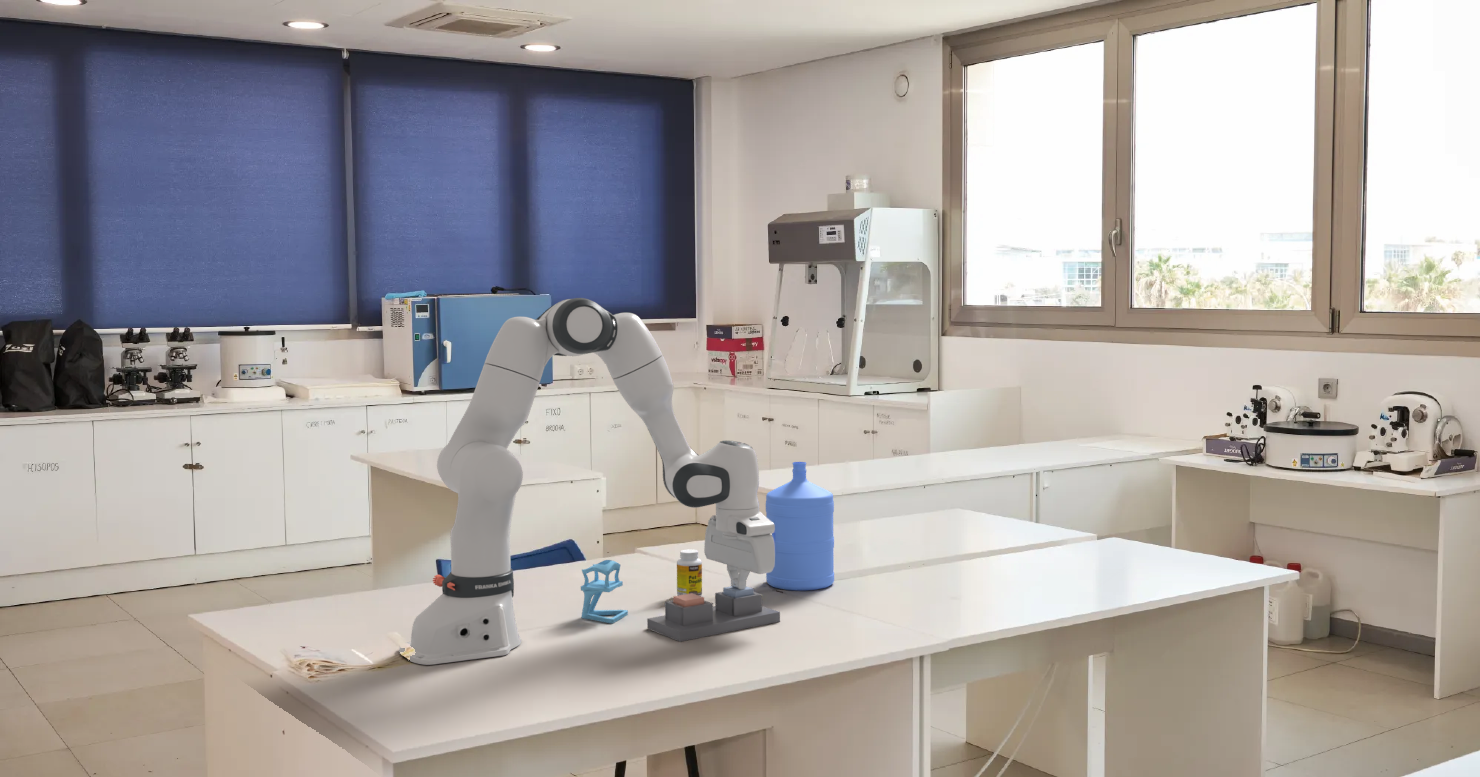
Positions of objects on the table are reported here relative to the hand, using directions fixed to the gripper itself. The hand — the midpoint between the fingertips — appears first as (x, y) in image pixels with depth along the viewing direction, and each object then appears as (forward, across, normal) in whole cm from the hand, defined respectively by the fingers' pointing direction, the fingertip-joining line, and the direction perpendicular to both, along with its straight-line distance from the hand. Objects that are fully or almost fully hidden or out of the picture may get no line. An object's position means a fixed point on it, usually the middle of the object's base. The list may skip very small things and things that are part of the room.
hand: (738, 587), depth 247 cm
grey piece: (+7, 0, -6) cm, 9 cm away
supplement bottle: (+7, -23, +3) cm, 24 cm away
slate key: (+3, 0, 0) cm, 3 cm away
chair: (+7, -19, -21) cm, 29 cm away
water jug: (+7, -18, +30) cm, 36 cm away
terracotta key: (+3, 0, -12) cm, 12 cm away
